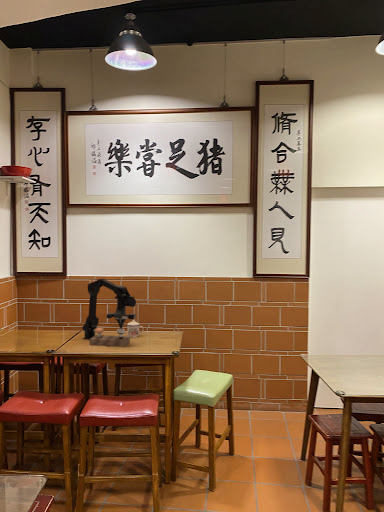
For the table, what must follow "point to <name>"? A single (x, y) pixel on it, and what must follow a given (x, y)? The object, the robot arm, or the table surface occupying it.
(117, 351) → the table surface
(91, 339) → the press block
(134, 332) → the teacup with lid
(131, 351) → the table surface
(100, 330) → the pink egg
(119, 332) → the grey plunger
